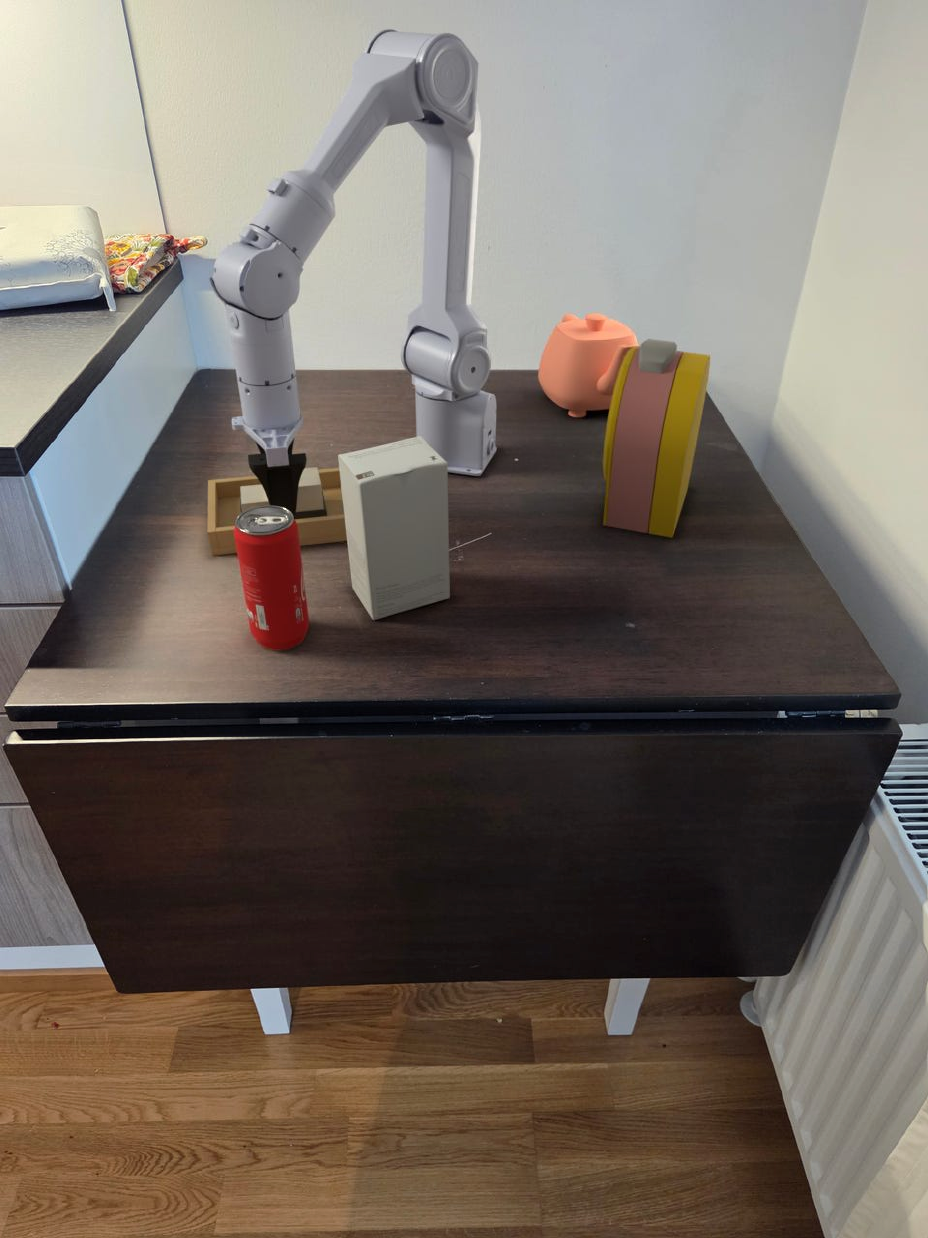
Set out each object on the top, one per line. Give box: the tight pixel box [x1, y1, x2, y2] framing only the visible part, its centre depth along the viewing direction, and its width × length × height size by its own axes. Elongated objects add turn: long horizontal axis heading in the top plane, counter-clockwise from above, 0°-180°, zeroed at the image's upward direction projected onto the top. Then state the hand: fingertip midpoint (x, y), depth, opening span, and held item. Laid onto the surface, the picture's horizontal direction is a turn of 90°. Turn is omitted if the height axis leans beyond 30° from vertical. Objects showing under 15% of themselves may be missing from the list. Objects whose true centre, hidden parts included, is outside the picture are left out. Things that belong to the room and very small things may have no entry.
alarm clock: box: [602, 338, 711, 538], centre depth 93 cm, size 15×8×18 cm, turn 160°
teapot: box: [537, 312, 639, 418], centre depth 118 cm, size 13×20×12 cm, turn 18°
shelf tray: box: [207, 467, 347, 557], centre depth 94 cm, size 16×12×3 cm
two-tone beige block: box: [240, 466, 327, 520], centre depth 93 cm, size 9×5×4 cm, turn 103°
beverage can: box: [234, 506, 310, 652], centre depth 75 cm, size 5×5×12 cm
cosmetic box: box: [337, 436, 451, 621], centre depth 79 cm, size 8×6×15 cm
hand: (282, 498), depth 94 cm, fingers open, 7 cm apart
